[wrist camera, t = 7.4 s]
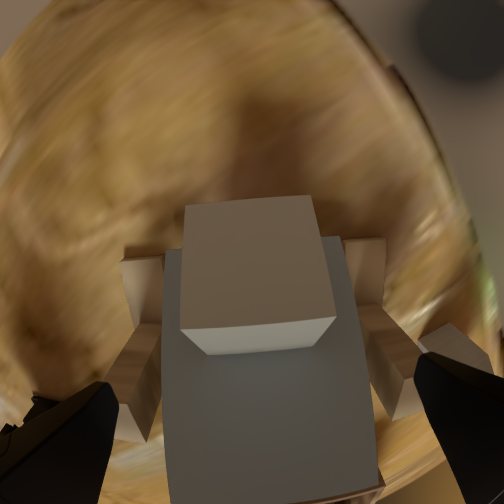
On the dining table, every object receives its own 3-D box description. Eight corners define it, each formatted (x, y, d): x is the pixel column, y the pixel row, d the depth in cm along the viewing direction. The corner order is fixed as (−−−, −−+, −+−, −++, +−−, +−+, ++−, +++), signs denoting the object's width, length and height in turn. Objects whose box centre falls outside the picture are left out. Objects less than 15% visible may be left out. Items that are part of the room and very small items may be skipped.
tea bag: (418, 389, 22) (464, 457, 13) (417, 339, 21) (481, 412, 11) (447, 373, 22) (498, 433, 13) (449, 321, 21) (518, 382, 11)
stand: (367, 376, 21) (409, 453, 13) (160, 394, 21) (133, 477, 13) (381, 236, 18) (465, 281, 10) (123, 258, 18) (49, 317, 10)
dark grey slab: (352, 467, 13) (378, 484, 9) (192, 482, 13) (170, 503, 9) (325, 270, 20) (339, 235, 16) (184, 282, 20) (165, 250, 16)
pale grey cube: (312, 346, 13) (337, 316, 9) (208, 355, 13) (180, 329, 9) (298, 255, 16) (310, 194, 11) (206, 263, 16) (185, 205, 11)
